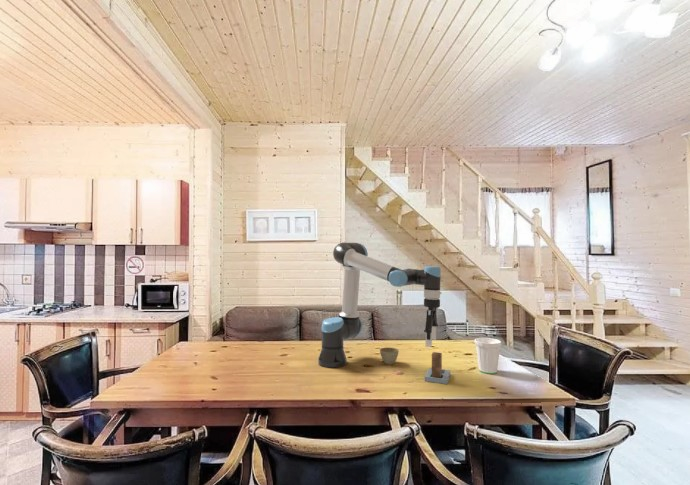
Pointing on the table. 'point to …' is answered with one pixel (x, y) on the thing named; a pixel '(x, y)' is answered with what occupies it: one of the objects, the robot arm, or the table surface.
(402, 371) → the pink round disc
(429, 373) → the grey window frame
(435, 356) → the peg
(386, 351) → the flower pot
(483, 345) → the cup
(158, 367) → the table surface
